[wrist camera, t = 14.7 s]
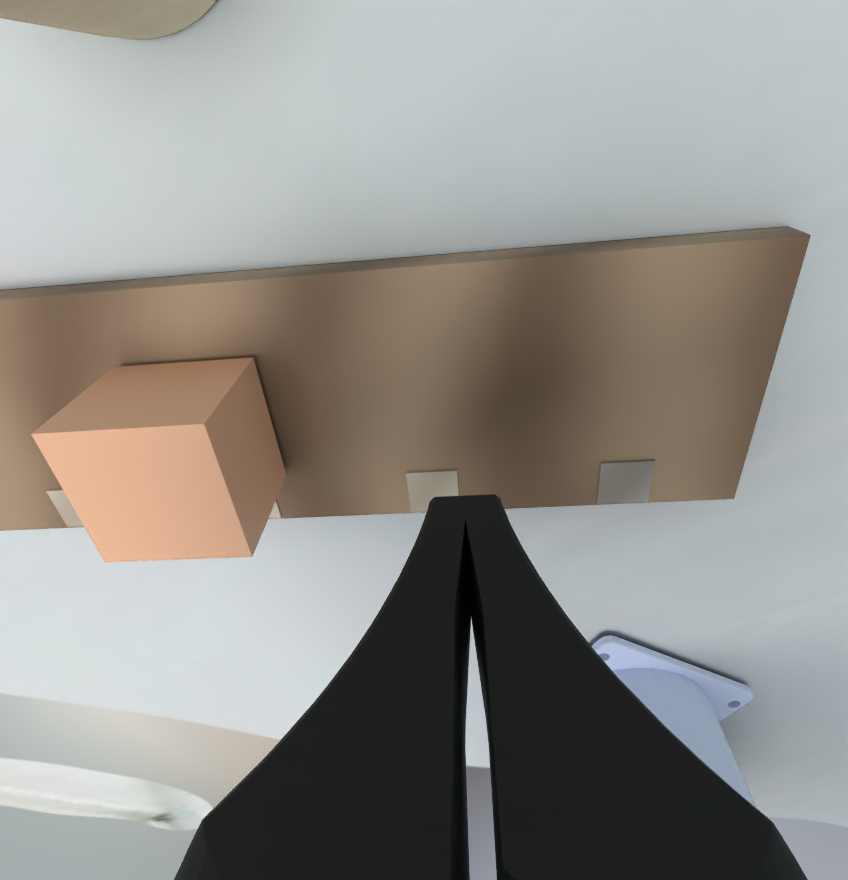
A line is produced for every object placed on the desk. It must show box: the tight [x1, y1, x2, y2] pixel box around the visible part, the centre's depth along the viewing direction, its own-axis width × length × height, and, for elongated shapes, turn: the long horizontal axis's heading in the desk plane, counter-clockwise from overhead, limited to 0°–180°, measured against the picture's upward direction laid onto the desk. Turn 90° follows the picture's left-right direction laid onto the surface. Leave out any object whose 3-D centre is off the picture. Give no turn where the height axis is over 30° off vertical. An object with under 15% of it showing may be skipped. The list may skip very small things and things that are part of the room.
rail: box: [0, 227, 811, 531], centre depth 16 cm, size 25×8×1 cm, turn 95°
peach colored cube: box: [31, 358, 286, 562], centre depth 14 cm, size 4×4×4 cm
